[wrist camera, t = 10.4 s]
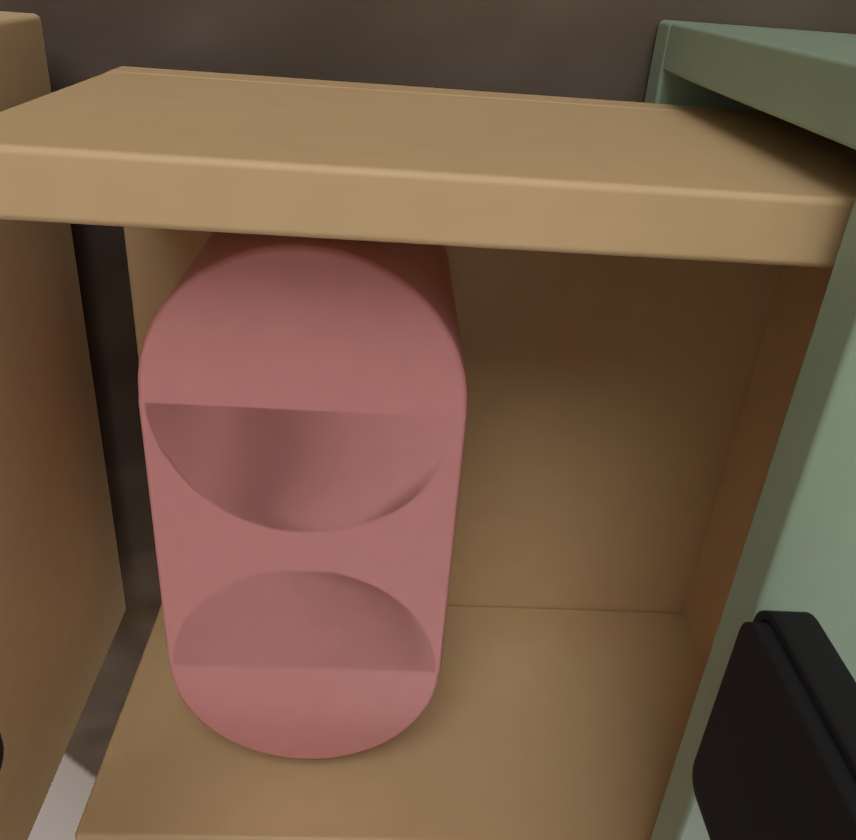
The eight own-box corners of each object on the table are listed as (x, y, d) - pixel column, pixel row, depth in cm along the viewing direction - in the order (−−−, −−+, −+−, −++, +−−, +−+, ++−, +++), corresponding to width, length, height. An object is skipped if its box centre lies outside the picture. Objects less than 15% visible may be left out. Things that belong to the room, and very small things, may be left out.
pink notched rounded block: (201, 154, 14) (117, 234, 10) (460, 170, 14) (484, 255, 10) (228, 581, 19) (179, 758, 15) (424, 587, 19) (430, 764, 15)
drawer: (-119, 600, 20) (-359, 895, 14) (-323, -13, 14) (-956, 8, 7) (686, 627, 21) (808, 910, 15) (850, 72, 15) (1188, 155, 8)
